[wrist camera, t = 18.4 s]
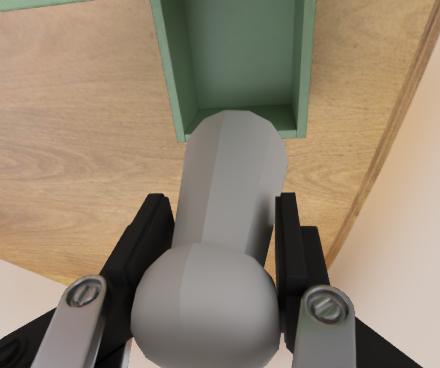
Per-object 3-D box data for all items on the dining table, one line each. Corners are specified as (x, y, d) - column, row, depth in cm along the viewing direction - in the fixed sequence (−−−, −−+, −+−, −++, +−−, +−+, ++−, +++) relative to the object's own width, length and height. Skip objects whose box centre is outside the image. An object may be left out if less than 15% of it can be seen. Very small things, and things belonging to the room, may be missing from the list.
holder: (297, 108, 31) (306, 138, 25) (194, 113, 33) (177, 142, 27) (306, -67, 23) (323, -91, 17) (170, -47, 25) (137, -61, 19)
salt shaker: (304, 126, 17) (372, 356, 6) (256, 193, 20) (245, 423, 9) (216, 79, 16) (118, 251, 5) (180, 157, 19) (73, 364, 8)
